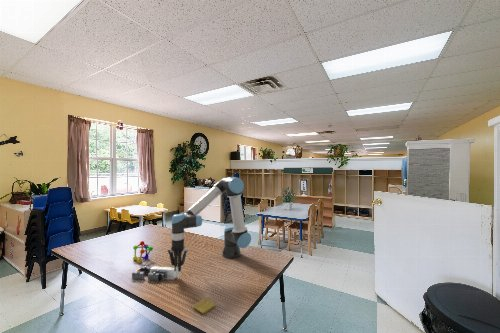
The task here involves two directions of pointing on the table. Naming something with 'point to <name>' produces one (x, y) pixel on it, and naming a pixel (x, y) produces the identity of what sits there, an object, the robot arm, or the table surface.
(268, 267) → the table surface
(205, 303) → the yellow tray
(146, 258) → the educational toy
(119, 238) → the table surface
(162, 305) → the table surface
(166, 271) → the link bar
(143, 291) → the table surface
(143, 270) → the dark grey blocks
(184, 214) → the robot arm
